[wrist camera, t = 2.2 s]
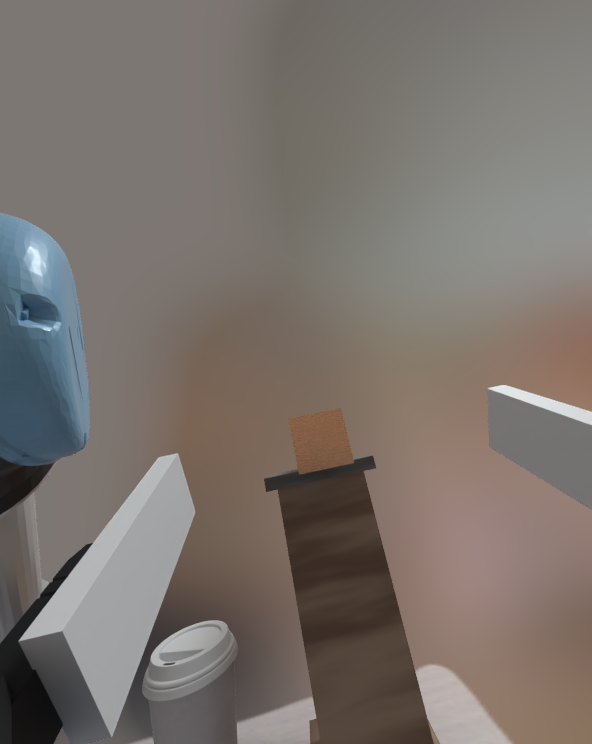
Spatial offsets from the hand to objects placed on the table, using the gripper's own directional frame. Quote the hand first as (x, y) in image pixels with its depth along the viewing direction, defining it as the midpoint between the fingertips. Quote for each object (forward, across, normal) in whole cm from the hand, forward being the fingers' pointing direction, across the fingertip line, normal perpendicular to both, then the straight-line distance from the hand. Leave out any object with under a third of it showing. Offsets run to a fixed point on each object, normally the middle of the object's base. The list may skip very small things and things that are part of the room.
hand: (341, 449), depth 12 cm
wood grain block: (+17, 0, -11) cm, 21 cm away
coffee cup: (+7, -17, -40) cm, 44 cm away
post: (+6, 0, -39) cm, 40 cm away
